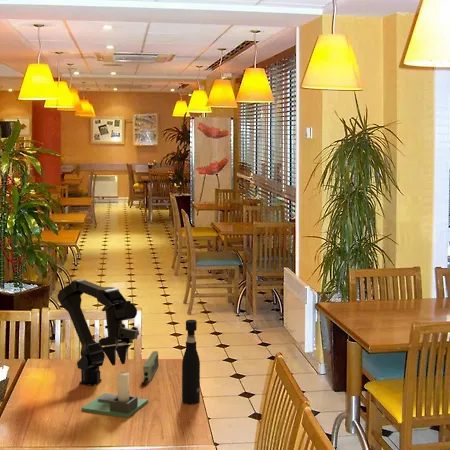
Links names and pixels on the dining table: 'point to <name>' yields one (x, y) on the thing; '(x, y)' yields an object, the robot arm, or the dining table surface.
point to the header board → (114, 405)
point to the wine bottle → (191, 367)
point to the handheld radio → (150, 367)
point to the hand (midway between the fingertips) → (118, 364)
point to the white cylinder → (123, 387)
